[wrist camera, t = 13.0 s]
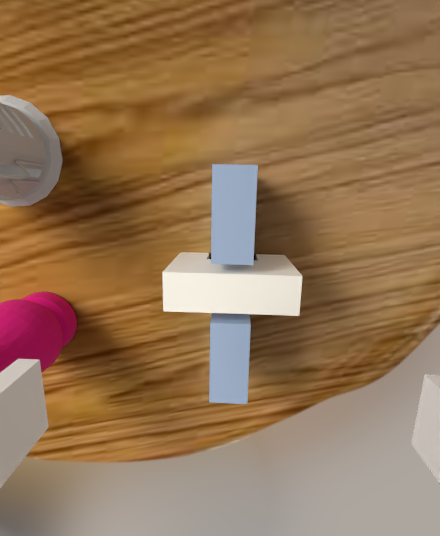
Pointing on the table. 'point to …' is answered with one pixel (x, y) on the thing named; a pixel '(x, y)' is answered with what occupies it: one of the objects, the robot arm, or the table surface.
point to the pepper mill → (35, 328)
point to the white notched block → (232, 286)
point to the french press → (26, 153)
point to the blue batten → (234, 253)
